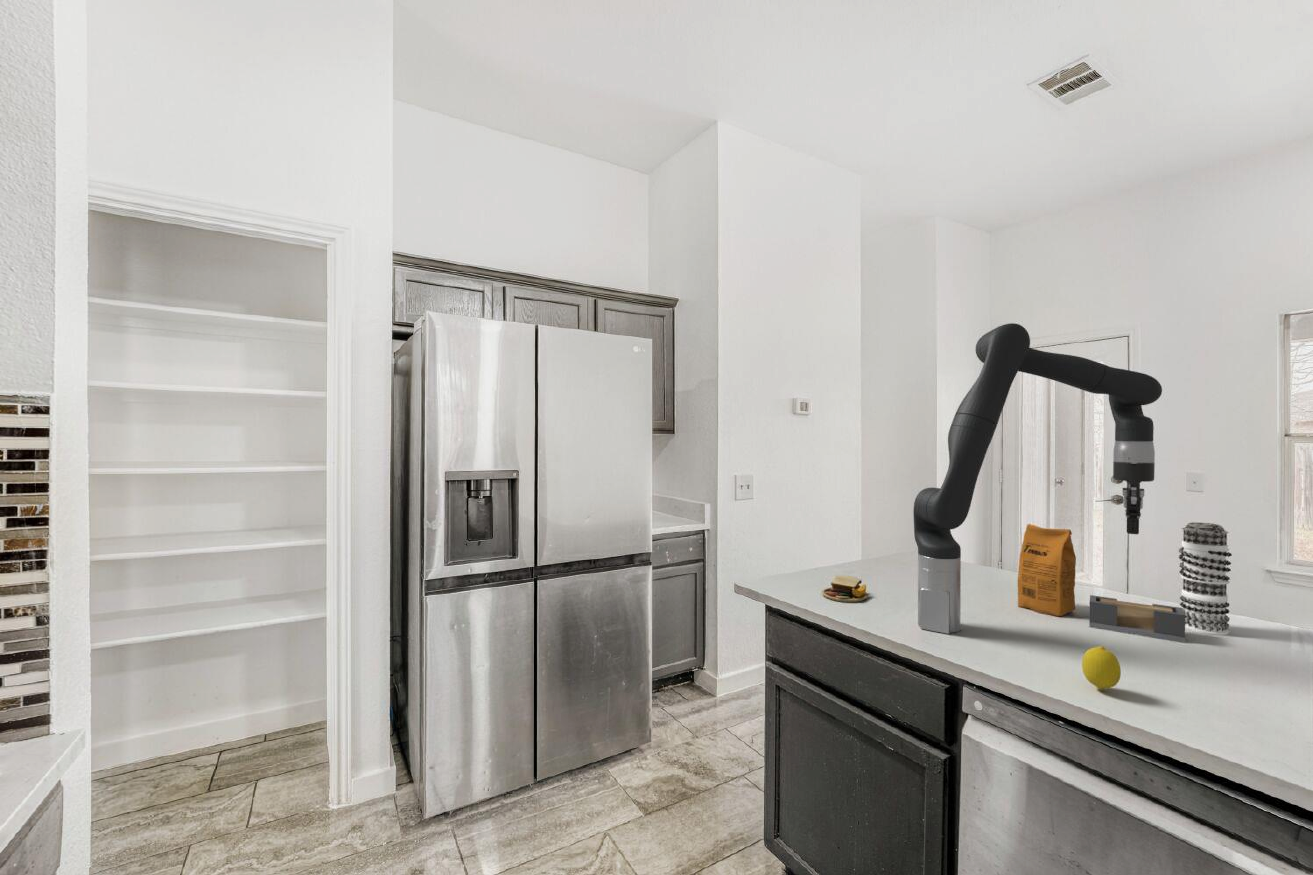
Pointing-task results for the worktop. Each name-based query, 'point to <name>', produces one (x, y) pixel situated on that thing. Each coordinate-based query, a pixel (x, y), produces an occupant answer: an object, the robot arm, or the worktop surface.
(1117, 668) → the lemon
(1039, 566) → the coffee package
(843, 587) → the toy sandwich meal
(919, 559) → the robot arm
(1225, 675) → the worktop surface
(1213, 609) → the decorative candle
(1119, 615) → the slat
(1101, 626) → the rail
